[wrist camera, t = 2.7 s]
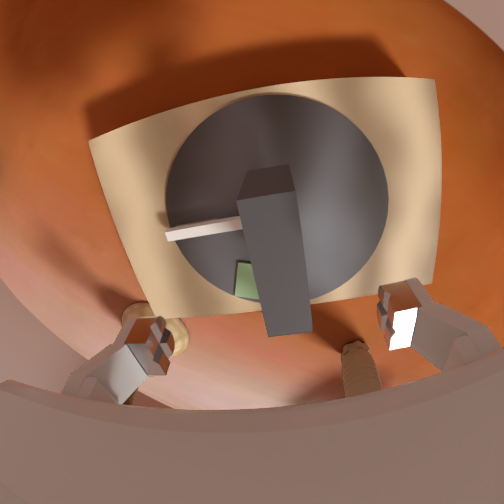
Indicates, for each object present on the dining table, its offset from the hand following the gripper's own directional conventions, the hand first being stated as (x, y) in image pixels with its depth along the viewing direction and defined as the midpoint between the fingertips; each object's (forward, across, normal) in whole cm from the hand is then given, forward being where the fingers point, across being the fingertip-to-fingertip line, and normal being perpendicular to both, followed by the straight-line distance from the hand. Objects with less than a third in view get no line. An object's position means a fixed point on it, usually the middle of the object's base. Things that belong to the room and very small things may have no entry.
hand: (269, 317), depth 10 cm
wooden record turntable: (+14, -1, 0) cm, 14 cm away
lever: (+9, +3, 0) cm, 10 cm away
